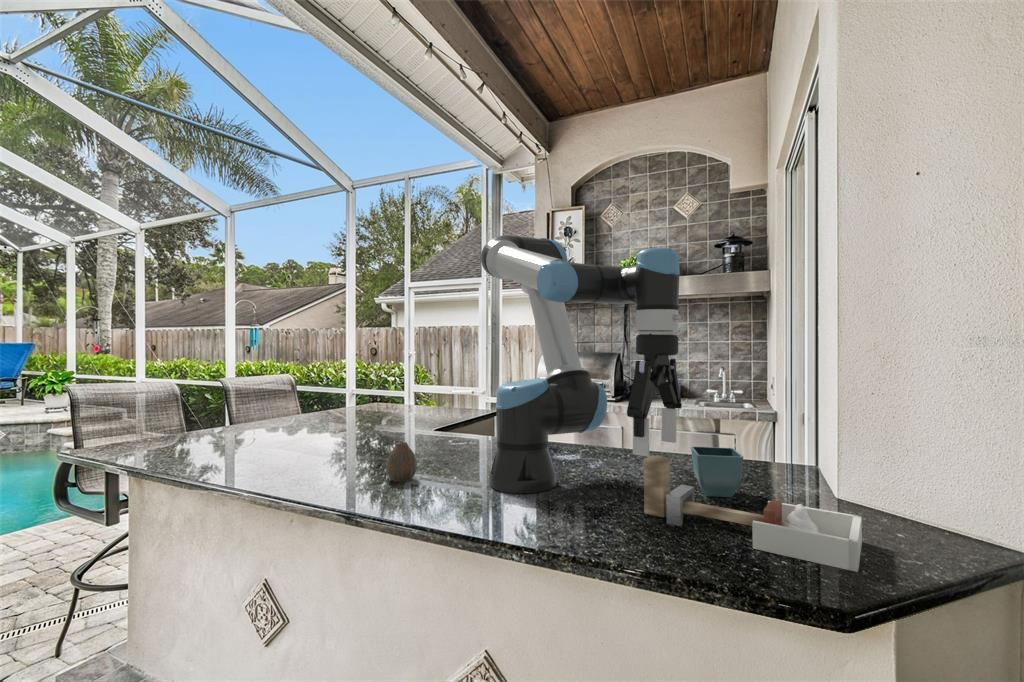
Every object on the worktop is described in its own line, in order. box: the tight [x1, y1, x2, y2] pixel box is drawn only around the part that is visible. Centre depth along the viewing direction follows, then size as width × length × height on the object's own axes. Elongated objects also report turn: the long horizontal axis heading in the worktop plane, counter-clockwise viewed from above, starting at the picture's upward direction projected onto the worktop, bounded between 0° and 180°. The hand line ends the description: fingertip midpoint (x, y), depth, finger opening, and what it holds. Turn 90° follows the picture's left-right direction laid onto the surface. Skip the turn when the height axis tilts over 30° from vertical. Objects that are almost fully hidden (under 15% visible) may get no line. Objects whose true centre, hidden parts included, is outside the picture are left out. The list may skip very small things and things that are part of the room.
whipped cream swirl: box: [782, 503, 819, 533], centre depth 75 cm, size 6×6×6 cm
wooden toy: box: [643, 454, 783, 527], centre depth 83 cm, size 22×6×10 cm, turn 52°
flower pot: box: [690, 446, 744, 498], centre depth 101 cm, size 9×9×9 cm
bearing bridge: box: [666, 484, 695, 527], centre depth 86 cm, size 2×8×5 cm, turn 142°
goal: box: [751, 500, 863, 573], centre depth 74 cm, size 13×13×4 cm
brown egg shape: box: [386, 441, 418, 483], centre depth 114 cm, size 7×7×9 cm
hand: (655, 448), depth 90 cm, fingers open, 13 cm apart
